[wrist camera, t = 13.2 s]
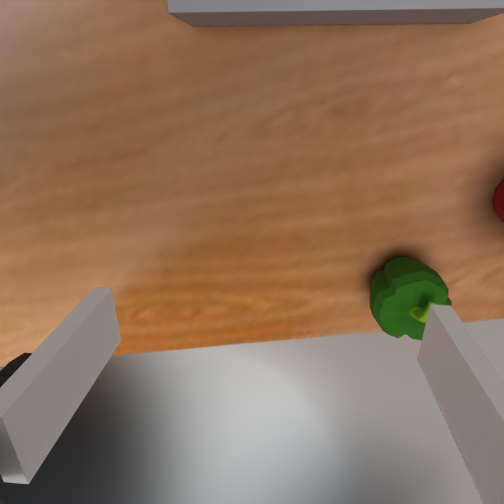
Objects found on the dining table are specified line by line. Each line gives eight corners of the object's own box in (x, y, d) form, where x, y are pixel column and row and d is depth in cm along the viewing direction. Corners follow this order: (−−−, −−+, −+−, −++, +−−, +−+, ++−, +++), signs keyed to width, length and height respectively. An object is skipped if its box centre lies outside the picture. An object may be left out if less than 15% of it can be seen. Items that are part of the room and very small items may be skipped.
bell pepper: (396, 317, 48) (421, 372, 39) (349, 282, 47) (363, 331, 38) (448, 274, 45) (488, 322, 36) (399, 234, 43) (428, 275, 34)
